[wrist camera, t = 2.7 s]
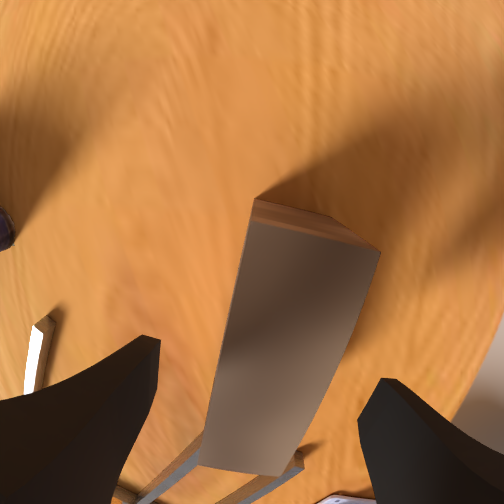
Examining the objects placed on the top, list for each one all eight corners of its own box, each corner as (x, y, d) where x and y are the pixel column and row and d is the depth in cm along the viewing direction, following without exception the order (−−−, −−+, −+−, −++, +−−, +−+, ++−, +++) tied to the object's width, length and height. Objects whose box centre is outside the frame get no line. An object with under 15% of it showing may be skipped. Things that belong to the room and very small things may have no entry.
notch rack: (302, 452, 17) (305, 480, 15) (195, 520, 21) (193, 538, 19) (46, 315, 15) (23, 334, 13) (28, 434, 19) (17, 449, 17)
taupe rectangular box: (330, 216, 13) (381, 252, 8) (275, 391, 16) (280, 476, 10) (254, 198, 13) (250, 220, 7) (214, 380, 16) (197, 464, 10)
